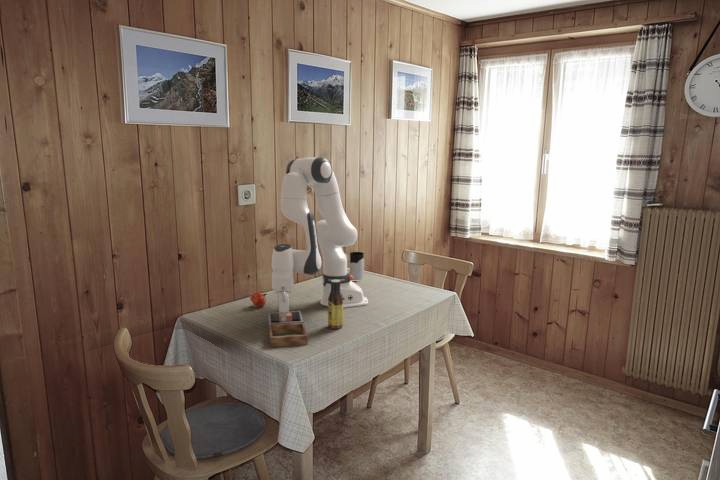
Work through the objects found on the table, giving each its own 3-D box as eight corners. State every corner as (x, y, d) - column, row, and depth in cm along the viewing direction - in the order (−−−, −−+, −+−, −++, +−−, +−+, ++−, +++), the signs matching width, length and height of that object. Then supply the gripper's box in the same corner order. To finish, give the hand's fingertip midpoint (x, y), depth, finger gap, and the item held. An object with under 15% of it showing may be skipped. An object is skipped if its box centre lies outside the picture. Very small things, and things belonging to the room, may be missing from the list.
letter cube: (291, 323, 211) (291, 311, 210) (292, 327, 207) (291, 315, 206) (279, 323, 210) (278, 312, 209) (279, 328, 206) (279, 316, 205)
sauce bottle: (327, 324, 210) (327, 278, 206) (342, 324, 210) (342, 277, 206) (328, 330, 203) (327, 282, 200) (343, 329, 204) (343, 282, 200)
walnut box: (304, 331, 202) (303, 322, 201) (307, 344, 189) (307, 335, 188) (269, 333, 199) (269, 325, 199) (270, 346, 186) (270, 338, 185)
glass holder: (359, 282, 273) (359, 255, 270) (337, 279, 280) (337, 252, 277) (367, 279, 280) (367, 252, 278) (346, 275, 287) (345, 249, 285)
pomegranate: (251, 315, 228) (269, 302, 227) (242, 302, 227) (259, 289, 226) (256, 311, 235) (272, 298, 234) (246, 299, 235) (263, 286, 234)
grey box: (300, 318, 216) (300, 310, 216) (303, 329, 203) (303, 321, 203) (268, 320, 214) (268, 312, 213) (269, 332, 201) (269, 323, 200)
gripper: (292, 291, 196) (292, 325, 198) (289, 278, 216) (289, 309, 218) (275, 291, 195) (276, 325, 197) (274, 278, 214) (275, 309, 217)
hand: (283, 316), depth 208 cm, fingers open, 8 cm apart
